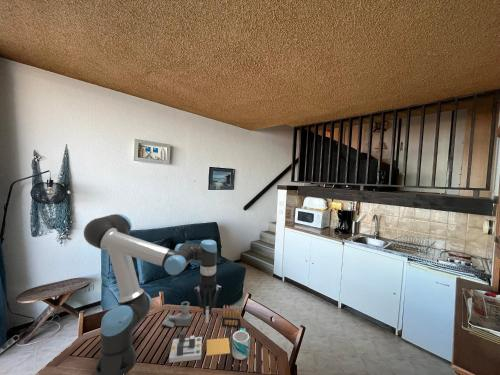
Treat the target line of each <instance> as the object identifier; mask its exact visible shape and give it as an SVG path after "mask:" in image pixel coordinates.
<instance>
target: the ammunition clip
mask: <svg viewBox="0 0 500 375" xmlns="http://www.w3.org/2000/svg"><path fill="white" fill-rule="evenodd" d="M221 315H222V316H221V327H223V328H224V327H225V328H238V327H239V328H240V329H241V328H242V308H241V305H239V307H238V305H236V306H235V305H233V306H232V305H231V304H230V306H229V305H228V304H227V305H226V304H224V305H223V308H222V314H221Z"/></svg>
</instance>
